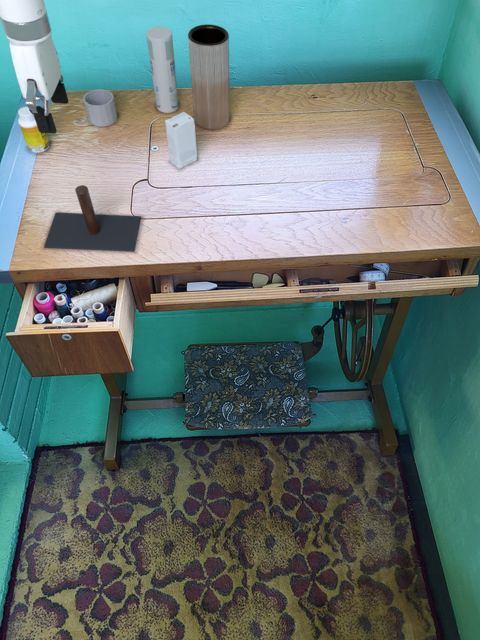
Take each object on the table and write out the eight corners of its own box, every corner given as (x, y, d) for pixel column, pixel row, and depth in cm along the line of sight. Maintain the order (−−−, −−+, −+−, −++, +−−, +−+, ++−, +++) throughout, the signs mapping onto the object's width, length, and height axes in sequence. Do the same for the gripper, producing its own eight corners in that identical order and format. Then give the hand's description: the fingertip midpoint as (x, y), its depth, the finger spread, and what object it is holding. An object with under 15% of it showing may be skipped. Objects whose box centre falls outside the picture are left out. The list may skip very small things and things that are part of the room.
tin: (86, 125, 143) (80, 105, 138) (91, 109, 147) (86, 88, 142) (114, 127, 143) (110, 106, 138) (119, 110, 147) (115, 90, 142)
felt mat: (44, 248, 118) (43, 246, 117) (56, 214, 124) (55, 212, 123) (133, 251, 118) (133, 250, 118) (140, 217, 124) (140, 216, 124)
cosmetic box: (187, 152, 138) (183, 109, 128) (198, 160, 137) (195, 118, 126) (169, 161, 136) (163, 119, 126) (179, 170, 134) (175, 128, 124)
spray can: (177, 113, 147) (170, 39, 131) (154, 112, 147) (144, 38, 131) (180, 100, 151) (173, 26, 134) (157, 99, 151) (147, 25, 134)
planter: (237, 121, 147) (237, 36, 128) (209, 134, 143) (205, 49, 124) (214, 104, 151) (211, 19, 132) (186, 117, 147) (179, 32, 128)
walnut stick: (87, 234, 120) (73, 193, 110) (89, 226, 121) (76, 184, 111) (98, 235, 120) (86, 193, 110) (101, 227, 121) (88, 185, 111)
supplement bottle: (50, 153, 136) (37, 116, 127) (27, 154, 135) (13, 118, 126) (50, 139, 139) (38, 103, 130) (28, 141, 138) (15, 105, 129)
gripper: (18, -2, 93) (46, 90, 107) (-13, 49, 83) (22, 143, 98) (61, 1, 93) (83, 93, 107) (35, 53, 84) (63, 146, 98)
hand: (54, 117), depth 102 cm, fingers open, 9 cm apart
